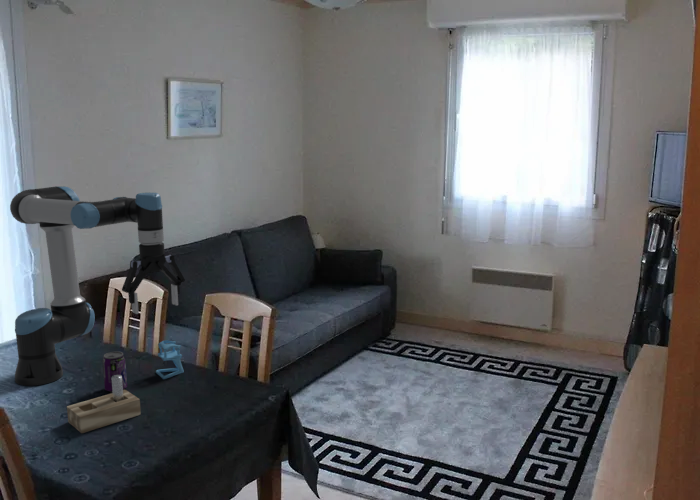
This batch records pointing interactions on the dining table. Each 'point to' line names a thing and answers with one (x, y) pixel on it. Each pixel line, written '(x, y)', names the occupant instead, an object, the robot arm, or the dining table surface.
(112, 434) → the dining table surface
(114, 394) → the pin
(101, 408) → the hole block
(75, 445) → the dining table surface
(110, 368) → the beverage can
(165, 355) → the chair
